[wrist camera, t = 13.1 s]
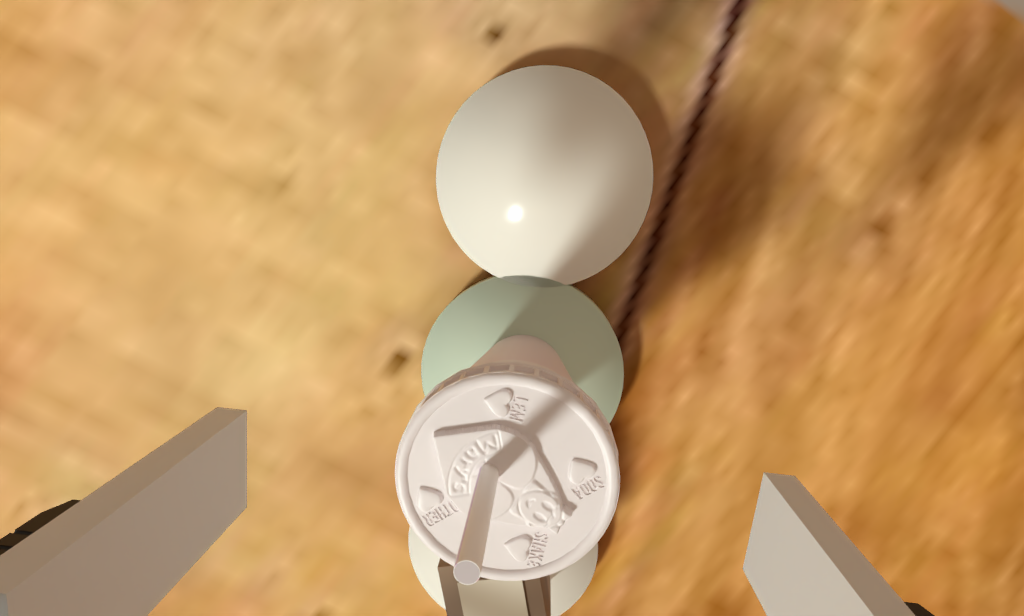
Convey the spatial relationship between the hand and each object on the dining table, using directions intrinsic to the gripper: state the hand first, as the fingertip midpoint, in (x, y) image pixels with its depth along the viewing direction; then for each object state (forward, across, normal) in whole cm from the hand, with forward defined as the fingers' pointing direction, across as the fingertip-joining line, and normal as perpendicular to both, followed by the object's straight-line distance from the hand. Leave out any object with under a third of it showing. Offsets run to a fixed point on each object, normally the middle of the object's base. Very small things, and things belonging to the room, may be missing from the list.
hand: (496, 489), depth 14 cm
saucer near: (+12, 0, +8) cm, 15 cm away
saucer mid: (+12, 0, -1) cm, 12 cm away
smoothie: (+11, 0, -1) cm, 11 cm away
